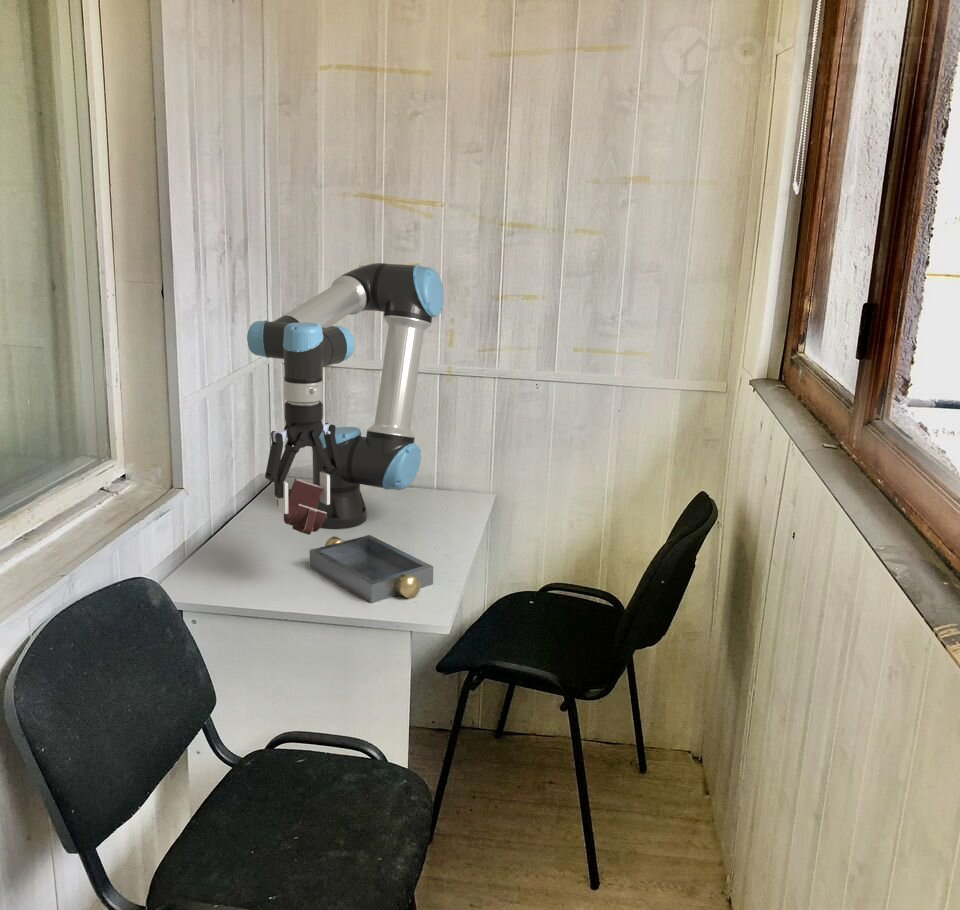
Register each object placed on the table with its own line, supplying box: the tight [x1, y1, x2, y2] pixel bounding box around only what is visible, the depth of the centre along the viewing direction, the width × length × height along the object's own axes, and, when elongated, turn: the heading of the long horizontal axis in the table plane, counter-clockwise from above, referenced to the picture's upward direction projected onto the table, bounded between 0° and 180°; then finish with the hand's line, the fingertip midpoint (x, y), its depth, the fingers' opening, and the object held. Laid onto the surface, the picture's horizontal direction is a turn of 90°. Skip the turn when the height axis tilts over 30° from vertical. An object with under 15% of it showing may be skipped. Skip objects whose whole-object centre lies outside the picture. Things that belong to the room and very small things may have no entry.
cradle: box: [309, 534, 434, 604], centre depth 198 cm, size 29×16×4 cm, turn 42°
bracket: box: [276, 478, 327, 535], centre depth 190 cm, size 6×17×10 cm, turn 28°
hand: (304, 507), depth 190 cm, fingers closed on bracket, 9 cm apart
